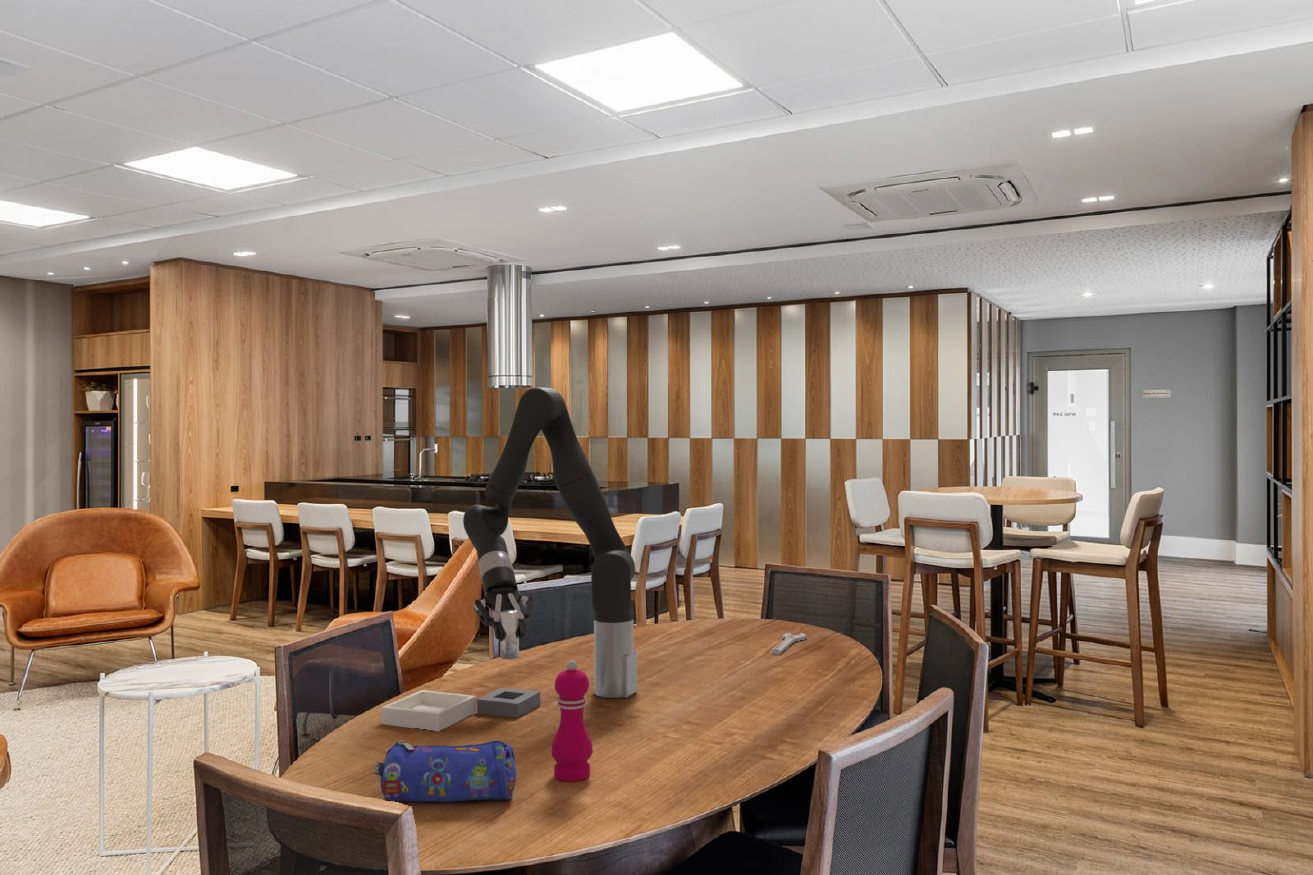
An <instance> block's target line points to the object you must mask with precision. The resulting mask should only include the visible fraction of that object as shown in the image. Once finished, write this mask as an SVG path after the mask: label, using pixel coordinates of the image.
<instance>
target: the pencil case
mask: <svg viewBox="0 0 1313 875" xmlns="http://www.w3.org/2000/svg"><path fill="white" fill-rule="evenodd" d="M515 758H516V757H515V753H514V748H513V746H512V745H510V744H508V743H507V742H504V741H502V740H492V741H487V742H483V743H476V744H466V745H411V744H410V743H408V742H405V740H399V741H398V742H395V744H394V745H392V746H391V747H390V748H389V749H388V750H387V752H386V754H385V759H384V761H383V762H380V761H377V762H376V764H375V767H374V773H373V774H374V775H375V776H376V775H377V776H379V777H380V781H379V782H380V789H381V793H382V796H383V797H384V798H385V800H388V801H389V800H392V801H391V802H396V801H400V803H402V802H403V803H405V802H404V801H406V802H407V803H408V802H410V803H411V802H413V803H414V802H415V803H453V802H465V801H484V800H505V801H507V800H509V799H511V798H513V793H514V790H515V786H516V780H517V766H516V761H515Z"/></svg>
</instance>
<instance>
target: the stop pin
mask: <svg viewBox="0 0 1313 875" xmlns="http://www.w3.org/2000/svg"><path fill="white" fill-rule="evenodd" d="M499 622H501V626H502V630H503V635H504V637H503V641H499V642H500V643H499V644H500V645H499V647H500V659H502V660H515V659H518V658H520V647H519V646H520V641H519V640H520V639H519V626H518V611H517V610H503V611H500V618H499Z"/></svg>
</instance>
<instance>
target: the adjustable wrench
mask: <svg viewBox="0 0 1313 875" xmlns="http://www.w3.org/2000/svg"><path fill="white" fill-rule="evenodd" d="M782 639H785V640H782ZM805 639H807V637H806V634H805V633H803V632H799V634H797V635H796V634H793V635H792V633H791V632H786V633H784V634H782V635H781V640H782V641H781V642H780V643H779V644H777V645H775V647H773V648H772V649H771V650H770V652H771V653H770V654H771V655H772V654H774V655H773V656H780V655H781V654H783V653H784V652H785V651H786V650H788V649H789V647H788V646H790V645H791V644H792V643H793V642H794V641H798V642H801V641H800V640H803V641H805ZM793 644H794V643H793ZM793 644H792V645H793ZM792 645H791V646H792ZM791 646H790V647H791ZM784 650H785V651H784ZM783 651H784V652H783ZM782 652H783V653H782ZM779 654H780V655H779Z"/></svg>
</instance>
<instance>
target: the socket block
mask: <svg viewBox="0 0 1313 875" xmlns="http://www.w3.org/2000/svg"><path fill="white" fill-rule="evenodd" d="M539 706H541V691H537V690H528V689H527V690H526V689H519V688H512V687H511V688H509V687H500V688H497V689H495V690H493V691H492V692H489V693H487V694H485V695H482V696H481V697H478V698H476V713H477V714H481V715H482V714H483V715H490V716H497V717H505V718H514V719H518V718H521V717H522V716H524V715H525V714H527V713H530V712H531V711H532V710H535V709H536V708H538V707H539Z"/></svg>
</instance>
